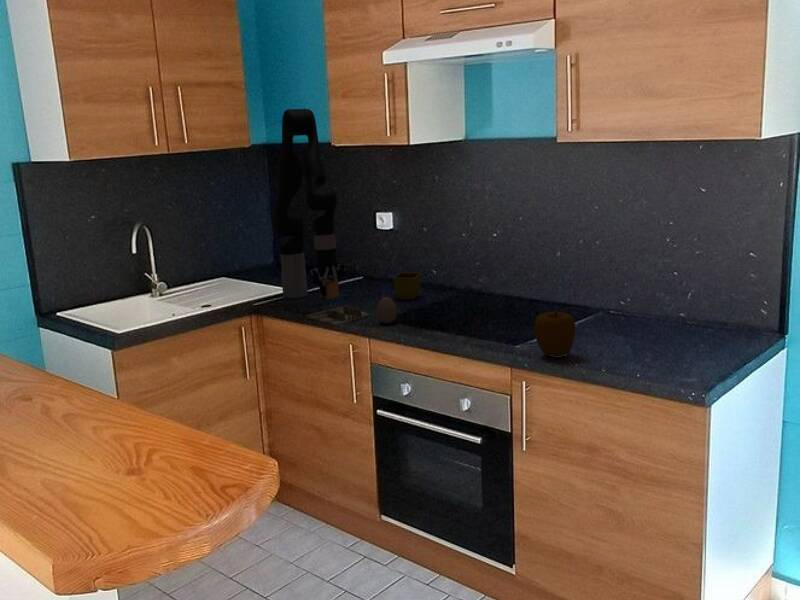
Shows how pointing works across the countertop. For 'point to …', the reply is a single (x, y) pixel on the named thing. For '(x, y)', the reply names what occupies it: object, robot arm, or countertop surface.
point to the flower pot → (407, 285)
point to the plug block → (331, 289)
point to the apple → (555, 333)
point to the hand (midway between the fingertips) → (329, 295)
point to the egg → (386, 310)
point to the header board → (339, 315)
